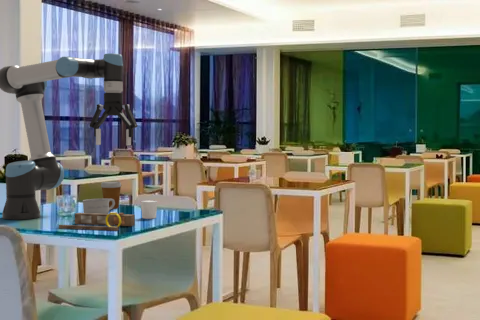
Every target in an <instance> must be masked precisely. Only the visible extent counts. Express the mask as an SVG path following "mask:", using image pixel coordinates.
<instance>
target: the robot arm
mask: <svg viewBox="0 0 480 320" xmlns="http://www.w3.org/2000/svg"><path fill="white" fill-rule="evenodd" d="M123 63H124V61H123V55H122V54H120V53H115V52H114V53H104V54H103V58H101V59H92V58H91V59H90V58H83V57H82V58H81V57H75V56H73V57H72V56H71V55H70V56H61V57H59V59H55V60H50V61H45V62H44V61H43V62H39V63H34V64H33V63H32V64H28V65H23V66H19V65H8V66H4V67H2V68H0V90H1V91H3V92H5V93H7V94H13V95H15V98H16V99H15V100H16V102H19V103H20V105H21V111H22V115H23V116H22V117H23V122H24V126H25V132H26V138H27V142H28V148H29V153H30V157H29V159H28V160H18V161H13V162H10V163H8V164H6V167H5V189H6V190H5V191H6V192H5V195H6V200H5V204H4V206H3V210H2V213H1V217H2V219H3V220H17V221H18V220H31V219H37V218H40V217H41V211H40V207H39V205H38V201H37V199H36V195H37V194H36V191H44V190H47V191H50V190H52V189H56V188H58V187H59V186H61V184H62V182H63V181H64V177H65V169H64V167H63V165H62V164H61V163H60V162H58V161H57V157H56V155H54V154H53V153H52V151H51V145H50V140H49V134H48V131H47V124H46V120H45V119H46V118H45V115H44V114H45V113H44V109H43V105H42V104H43V103H42V99H43V98H44V93H45V92H46V90H47V87H48V82H49V81H54V80H61V79H66V78H72V77H73V78H74V77H75V78H83V79H89V80H90V79H91V80H92V79H103V92H104V93H103V104H99V103H98V104H96V108H95V109H96V110H95V112H94V114H93V117H92V119H91V121H90V123H89V127H90V128H93V135H94V137H95V146H101V144H102V139H101V138H102V129H101V128H100V127H101V126H102V125H103V124H104V122H105V120H106V119H107V118H108V117H109V116H118V117H119V119H121V121H122V122H123V124H124V125H125V126H126V128H127V129H126V131H125V132H126V135H125V137H126V138H125V140H126V141H125V142H126V143H125V145H126V146H132V138H133V136H134V129H135V128H138V123H137V121H136V119H135V117H134V115H133V113H132V110H131V105H130V104H123V101H124V99H123V98H124V97H123V96H124V94H123V92H124V86H123V84H124V83H123V82H124V81H123V73H124V72H123V70H124V64H123ZM103 109H104V111H103ZM123 110H124V111H125V113H124V112H123ZM102 111H103V113H102ZM101 113H102V115H101ZM125 114H126V115H125ZM127 117H128V118H127Z"/></svg>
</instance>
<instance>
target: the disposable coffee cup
mask: <svg viewBox="0 0 480 320" xmlns="http://www.w3.org/2000/svg"><path fill="white" fill-rule="evenodd" d="M100 187H101V190H102V191H101V192H102V198H108V199H110V198H111V199H114V201H115V206H114V207H113V208H112V209H111V210H115V209H119V205H120V197H121V189H122V183H121V181H102V182H101V184H100ZM111 206H112V201H110V202H109V208H110V207H111Z"/></svg>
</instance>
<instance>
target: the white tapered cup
mask: <svg viewBox="0 0 480 320" xmlns="http://www.w3.org/2000/svg"><path fill="white" fill-rule="evenodd" d="M140 207H141V208H140V210H141V217H142V219H147V220H148V219H151V220H152V219H157V213H158V212H157V209H158V200H155V199H154V200H153V199H150V200H149V199H147V200H141V201H140Z"/></svg>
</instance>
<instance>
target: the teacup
mask: <svg viewBox="0 0 480 320" xmlns="http://www.w3.org/2000/svg"><path fill="white" fill-rule="evenodd" d="M110 201H112V206H111V207H110V208H109V202H110ZM114 206H115V201H114V199H111V198H110V199H108V198H103V197H102V198H91V199H90V198H89V199H88V198H87V199H83V200H82V207H83V208H82V210H83V213H101V214H110V212H111V210H113V209H112V208H113V207H114Z"/></svg>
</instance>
